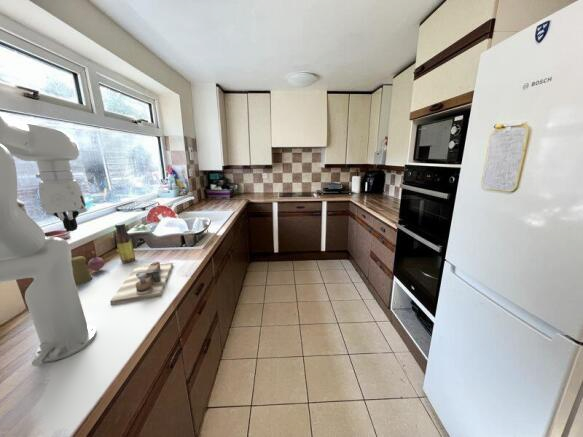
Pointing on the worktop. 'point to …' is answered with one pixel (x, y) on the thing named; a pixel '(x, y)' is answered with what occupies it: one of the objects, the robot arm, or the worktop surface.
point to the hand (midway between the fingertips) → (71, 230)
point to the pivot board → (129, 286)
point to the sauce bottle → (124, 244)
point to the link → (146, 278)
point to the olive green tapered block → (80, 270)
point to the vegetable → (96, 262)
